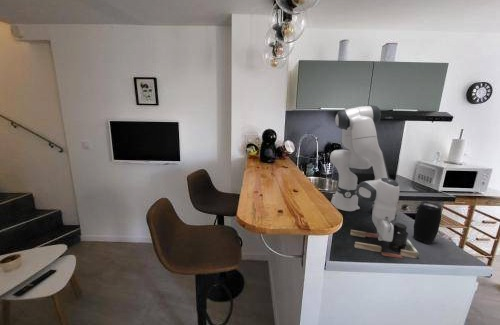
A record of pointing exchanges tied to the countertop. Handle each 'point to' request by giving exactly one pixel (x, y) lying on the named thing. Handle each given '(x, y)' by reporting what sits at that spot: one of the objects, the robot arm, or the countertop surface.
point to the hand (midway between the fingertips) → (379, 239)
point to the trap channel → (412, 253)
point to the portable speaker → (427, 222)
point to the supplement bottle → (399, 237)
